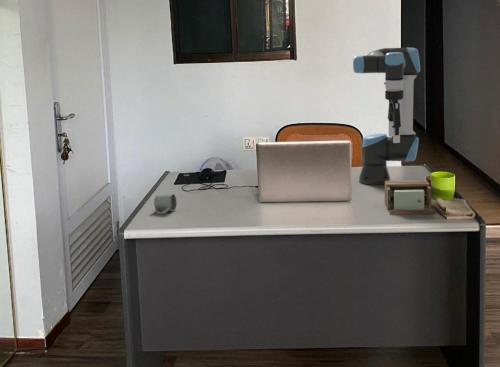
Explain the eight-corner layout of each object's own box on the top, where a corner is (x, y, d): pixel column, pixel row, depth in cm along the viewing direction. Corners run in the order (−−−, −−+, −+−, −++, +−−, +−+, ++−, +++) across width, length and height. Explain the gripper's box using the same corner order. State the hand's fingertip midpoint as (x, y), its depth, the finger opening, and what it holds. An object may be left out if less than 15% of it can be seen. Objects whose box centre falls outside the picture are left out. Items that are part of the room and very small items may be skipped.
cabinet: (384, 203, 337) (384, 180, 334) (426, 202, 335) (426, 180, 333) (389, 214, 319) (389, 190, 316) (433, 213, 317) (434, 189, 315)
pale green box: (393, 211, 324) (394, 190, 322) (422, 210, 323) (423, 189, 321) (395, 213, 320) (395, 192, 318) (424, 212, 319) (424, 191, 317)
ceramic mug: (160, 208, 342) (158, 191, 340) (177, 208, 340) (176, 191, 338) (151, 214, 332) (149, 197, 330) (168, 215, 330) (167, 198, 328)
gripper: (381, 86, 335) (381, 134, 340) (389, 94, 311) (389, 145, 316) (398, 85, 334) (398, 133, 340) (408, 93, 310) (407, 145, 316)
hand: (394, 139), depth 328 cm, fingers open, 13 cm apart
